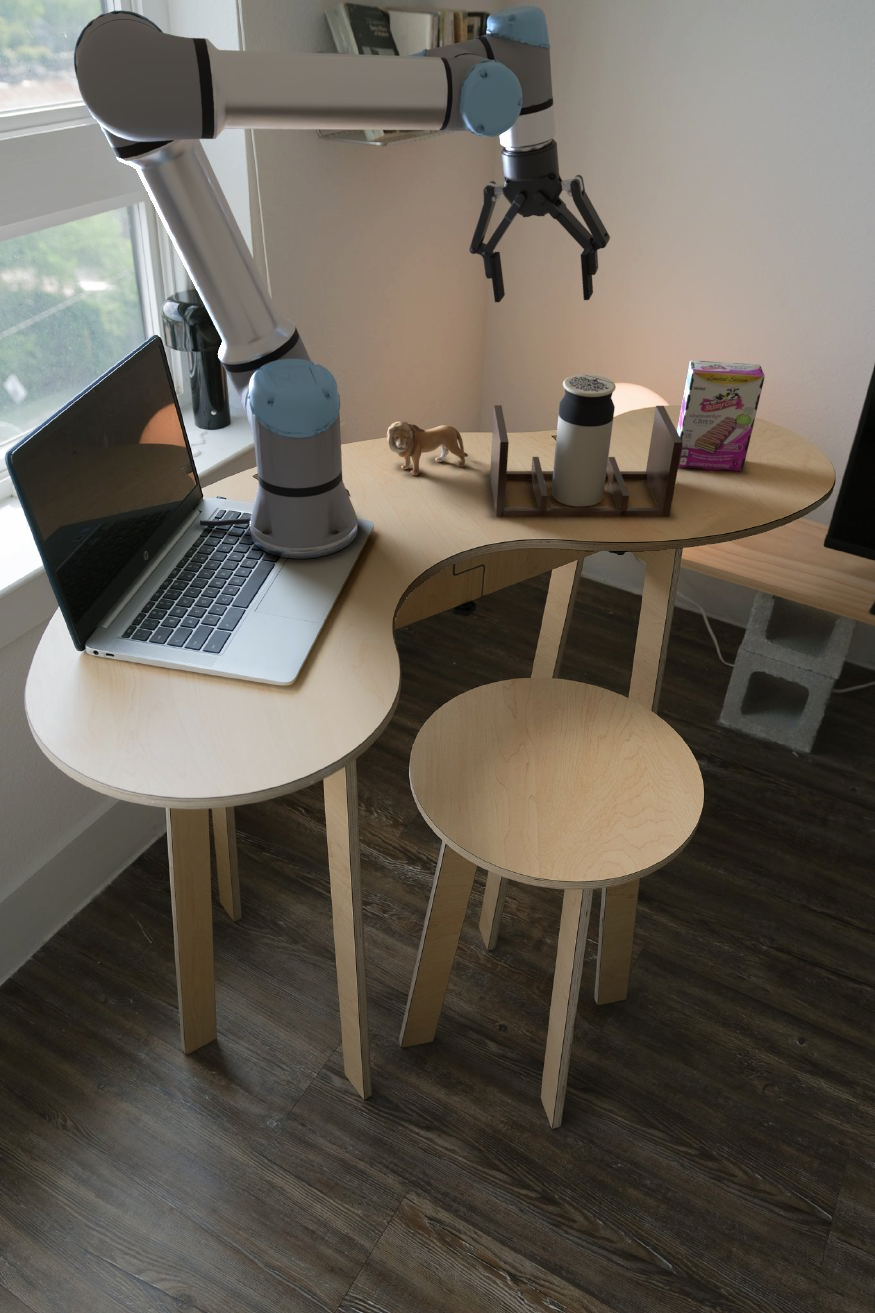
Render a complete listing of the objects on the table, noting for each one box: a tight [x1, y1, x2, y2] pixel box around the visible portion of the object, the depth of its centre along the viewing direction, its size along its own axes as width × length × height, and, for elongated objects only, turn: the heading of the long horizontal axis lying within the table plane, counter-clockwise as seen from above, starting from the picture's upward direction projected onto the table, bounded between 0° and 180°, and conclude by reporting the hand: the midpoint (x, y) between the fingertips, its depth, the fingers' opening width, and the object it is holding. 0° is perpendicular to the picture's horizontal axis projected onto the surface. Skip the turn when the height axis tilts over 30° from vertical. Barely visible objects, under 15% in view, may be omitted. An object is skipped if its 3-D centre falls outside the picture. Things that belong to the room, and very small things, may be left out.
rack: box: [489, 404, 683, 518], centre depth 151 cm, size 26×13×12 cm, turn 92°
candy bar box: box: [676, 360, 765, 472], centre depth 159 cm, size 11×5×16 cm, turn 84°
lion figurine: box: [386, 420, 469, 476], centre depth 158 cm, size 15×5×9 cm, turn 121°
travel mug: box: [550, 373, 617, 508], centre depth 149 cm, size 8×8×18 cm
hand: (543, 297), depth 148 cm, fingers open, 13 cm apart
